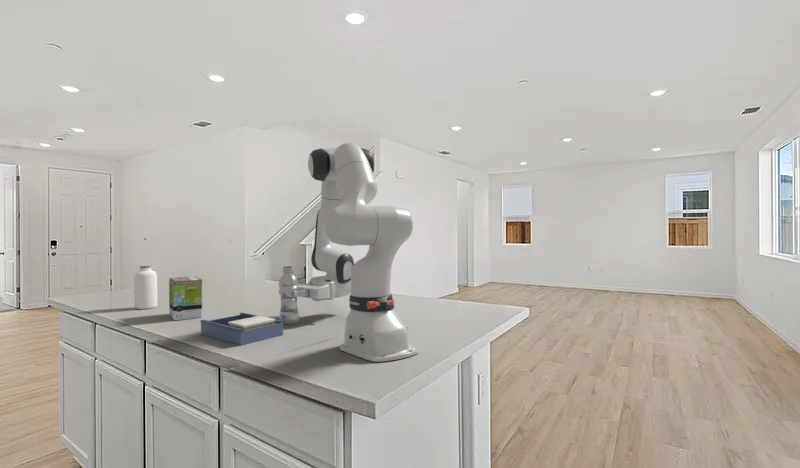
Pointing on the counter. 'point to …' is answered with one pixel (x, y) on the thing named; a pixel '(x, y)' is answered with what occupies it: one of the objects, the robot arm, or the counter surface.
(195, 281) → the tea box
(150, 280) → the potion bottle
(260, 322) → the carton
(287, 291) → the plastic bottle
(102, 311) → the counter surface
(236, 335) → the tote
